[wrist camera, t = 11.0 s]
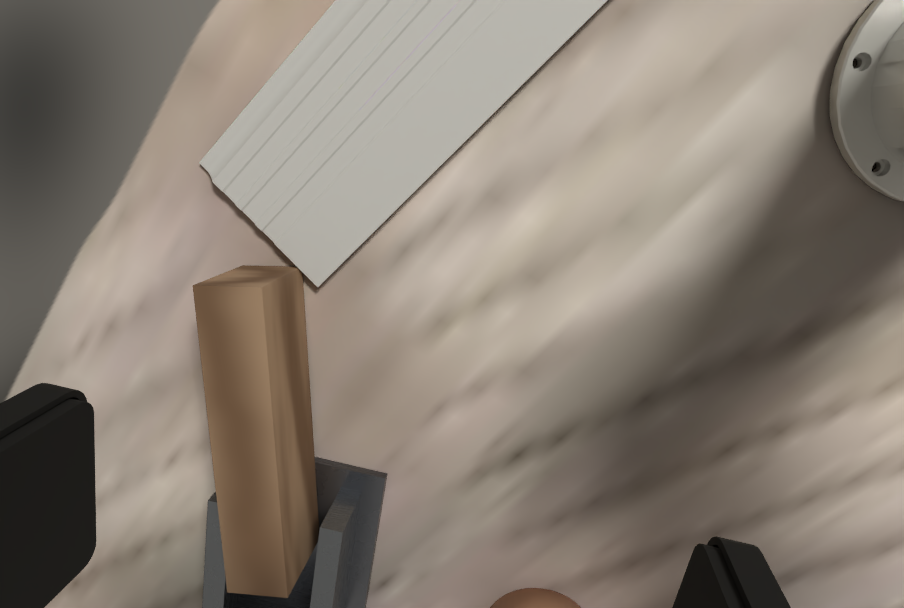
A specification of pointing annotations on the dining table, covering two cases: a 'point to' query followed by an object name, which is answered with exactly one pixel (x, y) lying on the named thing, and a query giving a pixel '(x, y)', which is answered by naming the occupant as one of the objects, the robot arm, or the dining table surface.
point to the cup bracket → (335, 555)
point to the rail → (259, 424)
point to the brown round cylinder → (534, 599)
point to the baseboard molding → (376, 113)
